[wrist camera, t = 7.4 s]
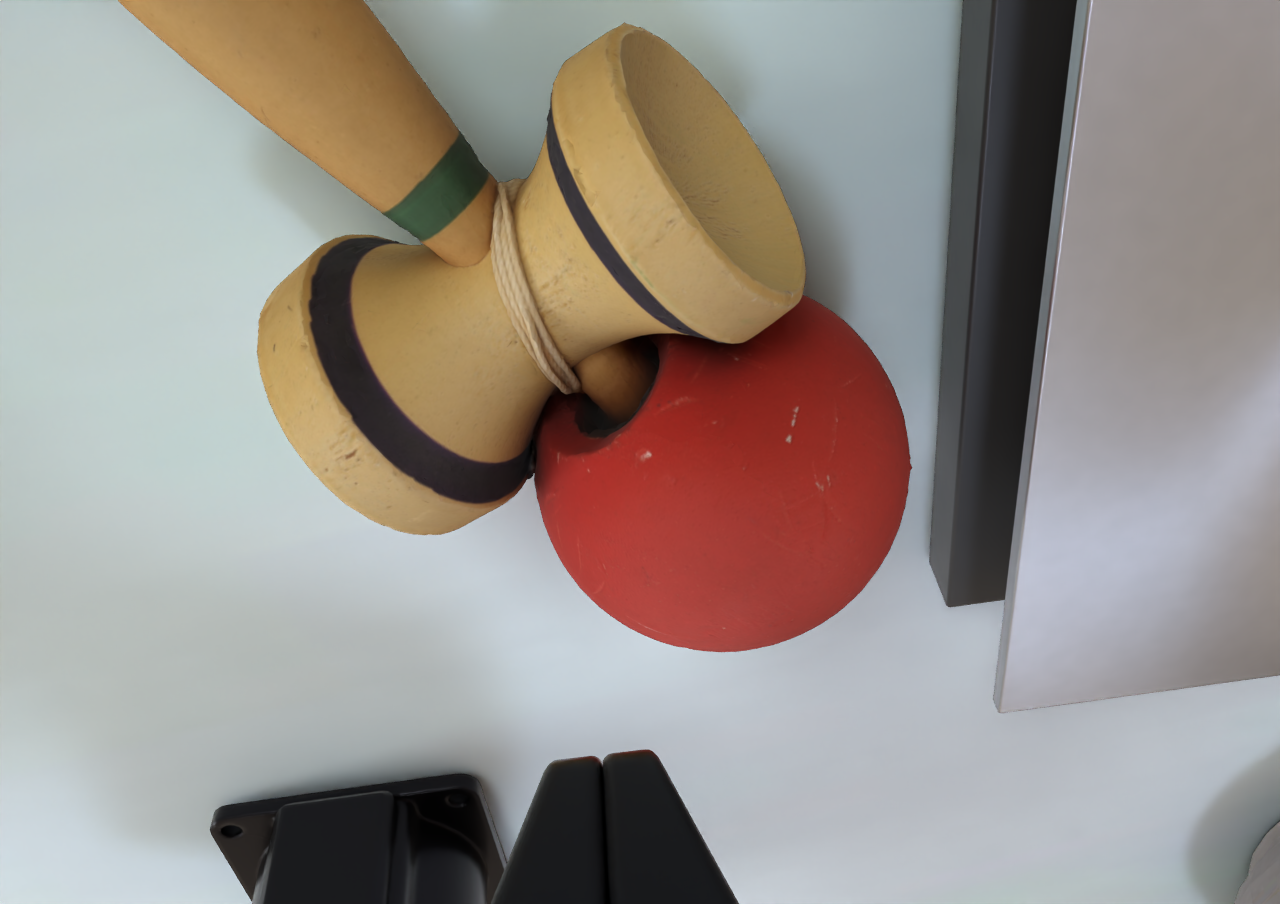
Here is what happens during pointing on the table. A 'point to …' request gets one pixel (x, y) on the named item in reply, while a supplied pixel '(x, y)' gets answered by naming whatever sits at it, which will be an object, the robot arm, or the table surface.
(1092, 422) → the pan
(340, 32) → the kendama
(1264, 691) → the table surface
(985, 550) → the scale
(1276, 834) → the coffee pot
